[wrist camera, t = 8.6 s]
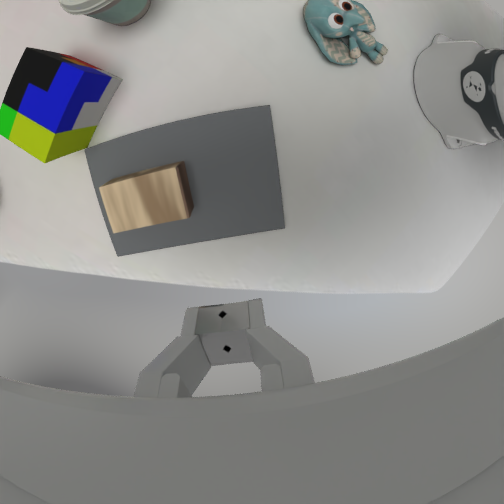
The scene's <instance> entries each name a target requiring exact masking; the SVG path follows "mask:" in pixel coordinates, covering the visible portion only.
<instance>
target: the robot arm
mask: <svg viewBox="0 0 504 504" xmlns="http://www.w3.org/2000/svg"><path fill="white" fill-rule="evenodd" d="M414 84H415V90H416V95H417V98H418V101H419V104H420V106H421V108H422V110H423V112H424V114H425V116H426V117H427V119H428V120H429V121H430V122H431V124H432V125H433V126H434V127H435V128H436V129H437V130H438V131H439V132H440V133H441V135H442V137H443V140H444V142H445V144H446V145H447V147H448V148H450V149H457V148H461V147H465V146H469V145H473V144H479V145H486V144H487V143H492V142H494V141H497V140H502V141H504V50H500V49H485V48H484V47H483V46H481V45H479V44H478V43H477V42H476V41H454V40H452V39H450V38H449V37H447V36H445V35H443V34H437V35H436V36H435V37H434V39H433V42H432V44H431V46H429V47H428V48H426V49H425V50H424V51H422V52H421V54H420V55H419V57H418V59H417V61H416V64H415V70H414ZM456 140H457V141H456ZM242 362H254V364H255V365H256V366H257V367H258V368H259V369H260V372H261V387H262V392H255V393H245V394H235V395H223V396H208V397H192V394H193V393H194V391H195V390H196V388H197V387H198V386H199V384H200V383H201V381H202V380H203V378H204V377H205V375H206V374H207V372H208V371H209V369H210V368H211V366H215V365H224V364H232V363H242ZM0 504H504V318H502V319H499V320H497V321H495V322H493V323H491V324H489V325H487V326H486V327H483V328H481V329H479V330H477V331H475V332H473V333H471V334H468V335H466V336H464V337H462V338H459V339H457V340H455V341H452V342H450V343H448V344H445V345H443V346H440V347H438V348H435V349H432V350H430V351H427V352H424V353H422V354H419V355H416V356H413V357H411V358H407V359H404V360H402V361H399V362H395V363H392V364H389V365H385V366H382V367H379V368H375V369H372V370H368V371H364V372H361V373H357V374H353V375H349V376H345V377H340V378H336V379H332V380H328V381H322V382H317V383H315V382H314V378H313V375H312V370H311V366H310V362H309V358H308V357H307V356H306V355H304V354H303V353H302V352H301V351H299V350H298V349H297V348H296V347H294V346H293V345H292V344H291V343H289V342H288V341H287V340H285V339H284V338H283V337H282V336H281V335H279V334H278V333H277V332H276V331H274V330H273V329H272V328H271V327H269V326H266V324H265V317H264V310H263V304H262V299H261V298H259V299H253V300H249V301H244V302H236V303H229V304H220V305H211V306H201V307H193V308H187V310H186V312H185V316H184V321H183V326H182V331H181V336H180V337H176V338H175V339H174V340H173V341H172V342H171V343H170V344H169V345H168V346H167V347H166V348H165V349H164V350H163V351H162V352H161V353H160V354H159V355H158V356H157V357H156V358H155V359H154V360H153V361H152V362H151V363H150V364H149V365H148V366H147V367H145V368H144V369H143V370H142V371H141V373H140V374H139V378H138V382H137V385H136V389H135V393H134V397H124V396H110V395H98V394H89V393H80V392H73V391H67V390H60V389H53V388H48V387H43V386H38V385H33V384H28V383H24V382H20V381H15V380H11V379H8V378H4V377H1V376H0Z"/></svg>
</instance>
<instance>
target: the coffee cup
mask: <svg viewBox="0 0 504 504" xmlns="http://www.w3.org/2000/svg"><path fill="white" fill-rule="evenodd" d="M59 3H60V5H61V7H62V8H63V9H64V10H65V11H66V12H68V13H70V14H73V15H87V16H90V17H93V18H96V19H100V20H103V21H106V22H109V23H112V24H115V25H118V26H125V25H129V24H132V23H134V22H136V21H137V20H139V19H140V18H141V17H142V16H143V15H144V14H145V13H146V12H147V10H148V8H149V6H150V0H59Z"/></svg>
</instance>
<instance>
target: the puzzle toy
mask: <svg viewBox="0 0 504 504" xmlns="http://www.w3.org/2000/svg"><path fill="white" fill-rule="evenodd" d="M121 81H122V79H120V78H118V77H116V76H114V75H112V74H110V73H108V72H106V71H103V70H101V69H99V68H97V67H95V66H93V65H90V64H88V63H86V62H84V61H81V60H79V59H77V58H74V57H72V56H69V55H64V54H60V53H55V52H50V51H45V50H40V49H34V48H28V47H26V49H25V51H24V53H23V55H22V57H21V59H20V61H19V63H18V66H17V68H16V70H15V72H14V75H13V77H12V79H11V82H10V84H9V87H8V89H7V92H6V95H5V97H4V100H3V103H2V106H1V109H0V134H1V135H2V136H4V137H5V138H7V139H8V140H10V141H11V142H13V143H14V144H16V145H17V146H19V147H20V148H22V149H23V150H25V151H26V152H28V153H29V154H31V155H32V156H34V157H35V158H37V159H39V160H40V161H42V162H43V163H47V162H49V161H52V160H54V159H57V158H60V157H62V156H65V155H68V154H71V153H73V152H76V151H79V150H82V149H85V148H87V147H88V145H89V142H90V140H91V138H92V136H93V134H94V132H95V129H96V127H97V125H98V123H99V121H100V119H101V117H102V115H103V113H104V111H105V110H106V108H107V106H108V104H109V102H110V100H111V99H112V97H113V95H114V93H115V91H116V90H117V88H118V86H119V85H120V83H121Z"/></svg>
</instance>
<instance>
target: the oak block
mask: <svg viewBox="0 0 504 504" xmlns="http://www.w3.org/2000/svg"><path fill="white" fill-rule="evenodd" d="M99 190H100V193H101V196H102V200H103V203H104V206H105V209H106V213H107V216H108V219H109V222H110V225H111V228H112V231H113V233H118V232H123V231H127V230H132V229H136V228H141V227H146V226H151V225H156V224H161V223H166V222H171V221H176V220H181V219H187V218H190V216H191V213H192V211H193V208H194V204H193V199H192V195H191V190H190V186H189V181H188V177H187V172H186V167H185V163H184V161H181V162H176V163H172V164H167V165H163V166H159V167H155V168H151V169H147V170H143V171H139V172H136V173H132V174H128V175H125V176H121V177H118V178H114V179H111V180H110V181H108V182H107V183H105V184H104V185H102V186H101V187H99Z"/></svg>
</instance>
